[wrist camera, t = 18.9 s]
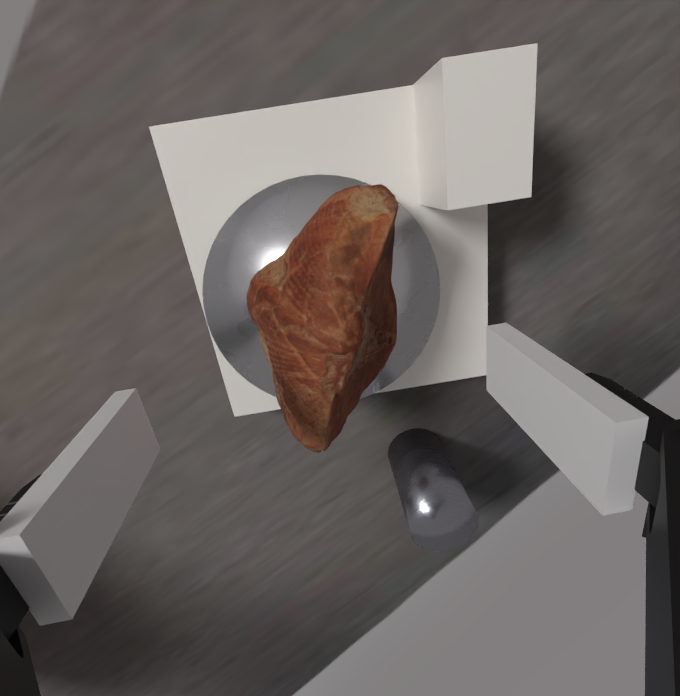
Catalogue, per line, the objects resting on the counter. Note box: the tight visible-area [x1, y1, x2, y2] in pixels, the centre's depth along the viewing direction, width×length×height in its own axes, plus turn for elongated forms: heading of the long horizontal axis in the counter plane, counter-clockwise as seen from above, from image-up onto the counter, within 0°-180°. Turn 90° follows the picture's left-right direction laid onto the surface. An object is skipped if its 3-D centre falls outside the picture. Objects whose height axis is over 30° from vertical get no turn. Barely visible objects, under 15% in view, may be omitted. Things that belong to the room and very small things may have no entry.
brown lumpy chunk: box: [246, 184, 398, 453], centre depth 21 cm, size 13×8×10 cm
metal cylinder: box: [388, 429, 478, 551], centre depth 30 cm, size 5×5×8 cm
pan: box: [202, 174, 440, 399], centre depth 24 cm, size 14×14×2 cm
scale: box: [149, 43, 537, 417], centre depth 24 cm, size 18×18×8 cm
